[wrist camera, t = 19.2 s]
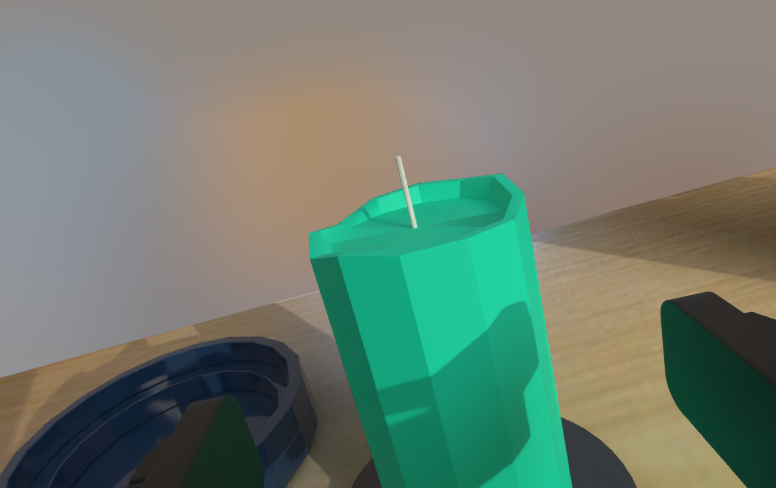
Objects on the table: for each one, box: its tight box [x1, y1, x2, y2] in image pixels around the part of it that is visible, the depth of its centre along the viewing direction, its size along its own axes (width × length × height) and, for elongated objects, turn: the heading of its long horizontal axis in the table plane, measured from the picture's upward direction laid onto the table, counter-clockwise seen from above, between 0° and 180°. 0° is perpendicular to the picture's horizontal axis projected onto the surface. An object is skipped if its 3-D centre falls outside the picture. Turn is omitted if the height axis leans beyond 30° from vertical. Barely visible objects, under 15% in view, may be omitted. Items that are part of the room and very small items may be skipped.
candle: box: [309, 156, 572, 488], centre depth 15 cm, size 6×6×12 cm
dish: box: [0, 337, 317, 488], centre depth 24 cm, size 13×13×3 cm
